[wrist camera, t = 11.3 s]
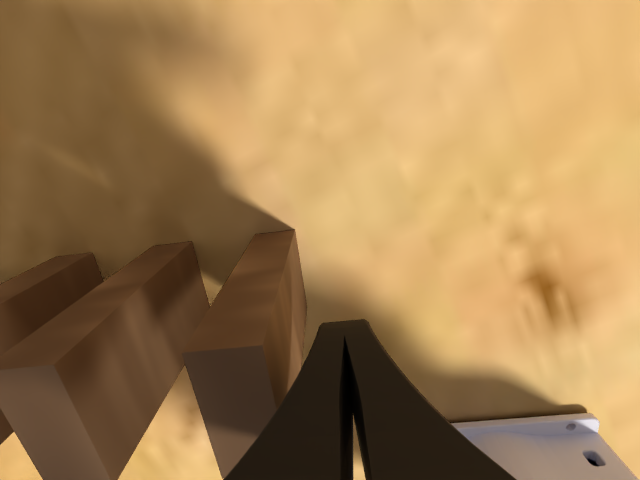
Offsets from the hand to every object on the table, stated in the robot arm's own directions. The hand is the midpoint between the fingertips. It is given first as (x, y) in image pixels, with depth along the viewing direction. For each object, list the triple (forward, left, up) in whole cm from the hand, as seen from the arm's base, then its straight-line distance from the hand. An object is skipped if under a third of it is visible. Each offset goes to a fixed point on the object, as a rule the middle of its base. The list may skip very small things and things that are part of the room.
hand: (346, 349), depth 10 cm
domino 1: (+3, 0, -6) cm, 7 cm away
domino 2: (+7, 0, -6) cm, 10 cm away
